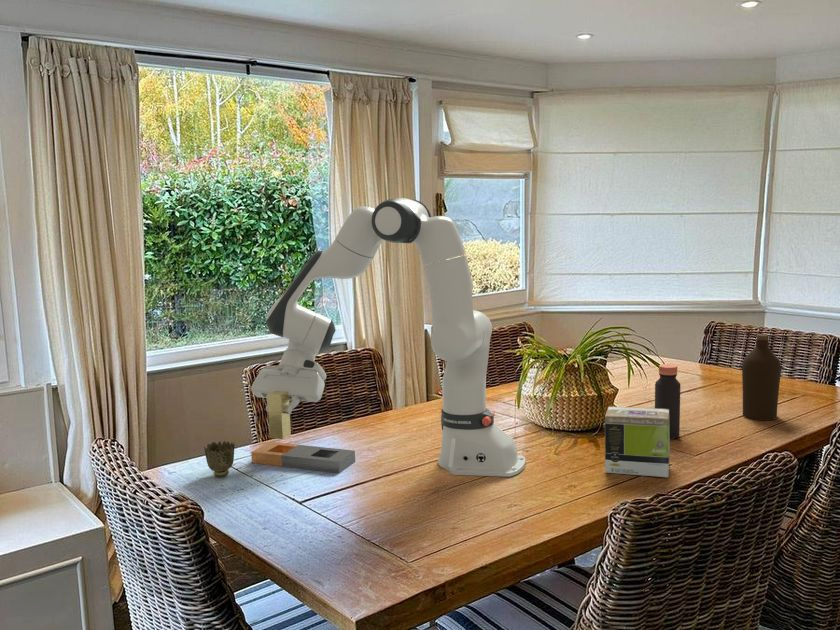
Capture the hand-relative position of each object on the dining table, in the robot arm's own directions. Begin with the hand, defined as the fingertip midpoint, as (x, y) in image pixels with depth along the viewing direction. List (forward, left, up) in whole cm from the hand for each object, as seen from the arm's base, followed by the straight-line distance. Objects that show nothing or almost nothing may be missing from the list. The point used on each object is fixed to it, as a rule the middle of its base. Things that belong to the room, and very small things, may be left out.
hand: (277, 412), depth 200 cm
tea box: (-90, -21, -14) cm, 93 cm away
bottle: (-95, -51, -14) cm, 108 cm away
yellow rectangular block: (0, -1, -7) cm, 7 cm away
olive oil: (-120, -78, -14) cm, 143 cm away
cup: (+8, +14, -13) cm, 21 cm away
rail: (-7, -1, -13) cm, 15 cm away
